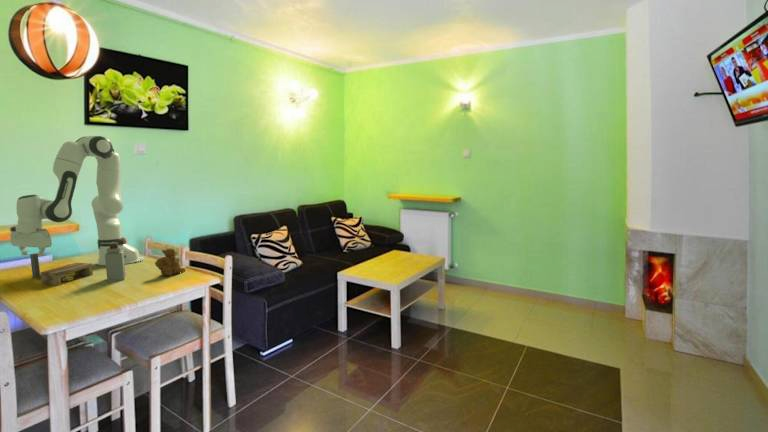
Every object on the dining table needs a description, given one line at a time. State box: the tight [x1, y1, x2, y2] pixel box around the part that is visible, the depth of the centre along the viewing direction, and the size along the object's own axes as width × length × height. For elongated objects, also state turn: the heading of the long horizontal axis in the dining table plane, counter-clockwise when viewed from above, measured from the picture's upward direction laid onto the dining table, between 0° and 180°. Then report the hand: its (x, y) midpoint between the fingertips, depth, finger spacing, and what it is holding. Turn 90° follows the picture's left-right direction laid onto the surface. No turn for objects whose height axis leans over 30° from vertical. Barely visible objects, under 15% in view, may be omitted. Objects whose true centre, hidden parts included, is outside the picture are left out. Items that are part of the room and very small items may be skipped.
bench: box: [40, 262, 94, 286], centre depth 192 cm, size 9×18×6 cm, turn 170°
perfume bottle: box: [105, 243, 127, 283], centre depth 192 cm, size 7×7×18 cm
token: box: [61, 276, 75, 282], centre depth 192 cm, size 4×4×1 cm
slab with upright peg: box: [29, 253, 66, 279], centre depth 194 cm, size 14×7×12 cm, turn 80°
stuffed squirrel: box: [154, 247, 187, 277], centre depth 201 cm, size 10×14×13 cm
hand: (32, 255), depth 193 cm, fingers open, 8 cm apart
